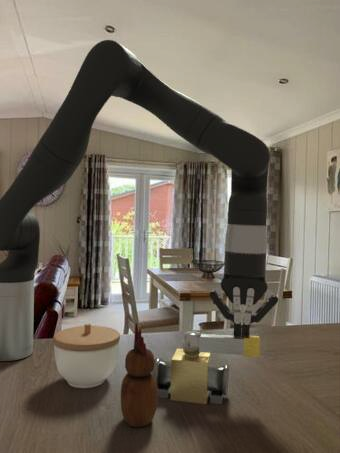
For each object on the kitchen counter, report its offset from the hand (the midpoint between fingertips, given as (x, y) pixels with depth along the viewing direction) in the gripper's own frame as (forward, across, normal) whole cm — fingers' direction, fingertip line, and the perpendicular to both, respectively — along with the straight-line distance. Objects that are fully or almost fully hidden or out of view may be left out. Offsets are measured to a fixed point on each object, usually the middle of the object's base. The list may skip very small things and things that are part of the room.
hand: (241, 342), depth 71 cm
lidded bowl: (+10, -29, -2) cm, 31 cm away
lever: (+2, -4, -2) cm, 5 cm away
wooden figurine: (+10, -15, -14) cm, 23 cm away
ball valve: (+10, -9, -3) cm, 13 cm away
